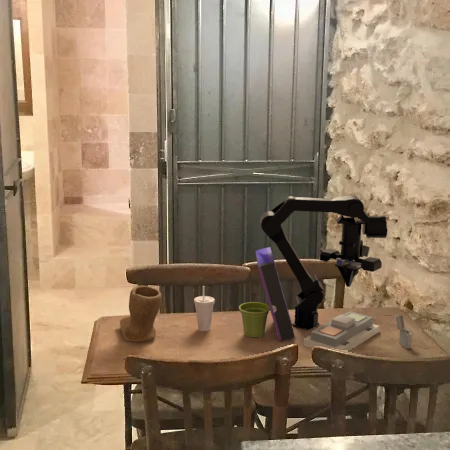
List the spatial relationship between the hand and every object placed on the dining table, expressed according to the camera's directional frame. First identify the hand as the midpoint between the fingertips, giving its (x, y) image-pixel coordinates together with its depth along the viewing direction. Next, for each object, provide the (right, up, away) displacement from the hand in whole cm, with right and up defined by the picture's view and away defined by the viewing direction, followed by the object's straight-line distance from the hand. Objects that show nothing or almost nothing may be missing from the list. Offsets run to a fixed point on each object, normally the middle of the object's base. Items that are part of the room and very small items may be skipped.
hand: (348, 286), depth 205 cm
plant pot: (-29, -14, -4) cm, 33 cm away
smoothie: (-44, -13, 0) cm, 46 cm away
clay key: (-8, -14, -12) cm, 20 cm away
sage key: (+1, -12, -2) cm, 12 cm away
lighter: (+14, -16, -10) cm, 23 cm away
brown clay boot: (-63, -14, -5) cm, 65 cm away
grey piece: (-3, -15, -7) cm, 17 cm away
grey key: (-3, -11, -7) cm, 14 cm away
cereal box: (-20, -13, -1) cm, 24 cm away
